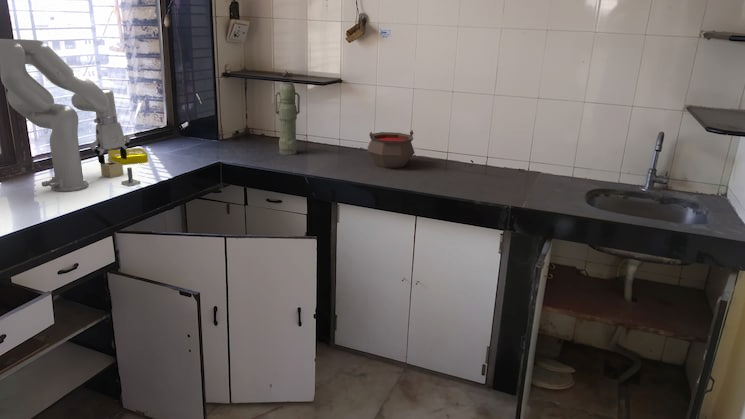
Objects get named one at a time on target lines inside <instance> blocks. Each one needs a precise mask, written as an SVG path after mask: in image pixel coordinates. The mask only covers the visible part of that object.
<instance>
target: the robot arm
mask: <svg viewBox="0 0 745 419" xmlns="http://www.w3.org/2000/svg"><path fill="white" fill-rule="evenodd" d="M26 65H31V66H33V67H34V68H36V70H37V71H38V72H40V73H41V74H42V75H43V76H44V77H45V78H46V79H47V80H48V81H49V82H50V83H51V84H53V85H54V86H56V87H58V88H60V89H63V90H66V91H68V92H71V93H73V95H72V97H71V104H72V106H69V105H66V104H62V103H55V99H54V97H53V95H52V93H51V92H50V91H49V90H48V89H47V88H45V86H43V85H42V84H41V83H39V81H37V80H36V79H35V78H33V77H32V75H30V73H29V72H28V70H27V67H26ZM0 80H1V83H2V85H3V86H4V88H5V89H6V90H7V93H6V99H7V101H8V103H9V105H10V106H11V107H12V109H14V110H15V111H16V112H17V113H19V114H20V115H21V116H23V117H24V118H25V119H26V120H27V121H29V122H31V124H34V125H35V126H37V127H40V128H43V129H50V130H51V133H50V136H49V147H50V154H51V159H52V160H51V162H52V167H53V174H54V176H51V179H49V180H44V181H41V186H42V187H43V188H44V187H45V188H46V187H51V190H53V191H55V192H56V191H57V192H74V191H76V192H77V191H80V190H83V189H86V188H88V187H89V182H88V181H87V180H84V175H83V174H84V173H83V165H82V159H81V152H80V144H79V134H78V133H79V132H78V129H79V115H78V113H77V111H76V110H75V109H74V108H76V109H77V110H79V111H83V112H92V113H95V119H94V120H93V123H94V124H95V123H96V124H95V140H94V141H93V142H92V143H91V144H89V148H90V149H91V151H92V152H93V153H94V154H96V155H97V159H98V163H99V164H105V163H106V158H105V155H104V154H103V153H104V152H105V151H107V150H108V151H109V150H115V149H117V148H120V149H119V150H120V155H121V158H123V159H127V153H126V149H128V147H129V145H130V142H131V137H130V136H126V135H124V130H123V128H122V124H121V123H120V122H119V121H118V114H117V110H116V109H117V108H116V102H115V95H114V91H113V90H112V89H109V88H100V87H99V86H98V85H97V84H96V83H94V82H93V81H92V80H91V79H89V78H88V77H86V76H84V75H83V74H81V73H79V72H78V71H77V70H74V69H73V68H72V67H70V66H69V64H67V63H66V62H65V60H63V59H62V58H61V57H60V56H59V55H58V54H57V52H55V51H54V49H52V48H51V47H50V46H49V45H48V44H47V43H45V42H44V41H41V40H38V39H37V40H36V39H23V38H22V39H20V38H16V39H15V38H14V39H11V38H10V39H9V38H0ZM73 107H74V108H73ZM96 147H97V148H96Z"/></svg>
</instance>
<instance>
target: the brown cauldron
mask: <svg viewBox="0 0 745 419" xmlns="http://www.w3.org/2000/svg"><path fill="white" fill-rule="evenodd" d="M413 135H414V131H413V130H412V129H411V130H410V131H409V134H408V133H407V134H406V133H403V132H392V131H391V132H388V131H387V132H385V131H380V132H375V133H373V132H372V131H370V132H369V134H368V136H369V138H370V141H369V143H368V146H367V153H368V154H369V156H370V158H371V159H372V161H373V163H375V165H376V166H378V167H381V168H385V169H387V168H389V169H390V168H391V169H399V168H402V167H405V166H406V165H407V163H408V162H409V161H410V159H411V158H412V157H413V156H414V155H415V154H416V153H415V149H414V147H413V143H412V141H413V140H414V136H413Z"/></svg>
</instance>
